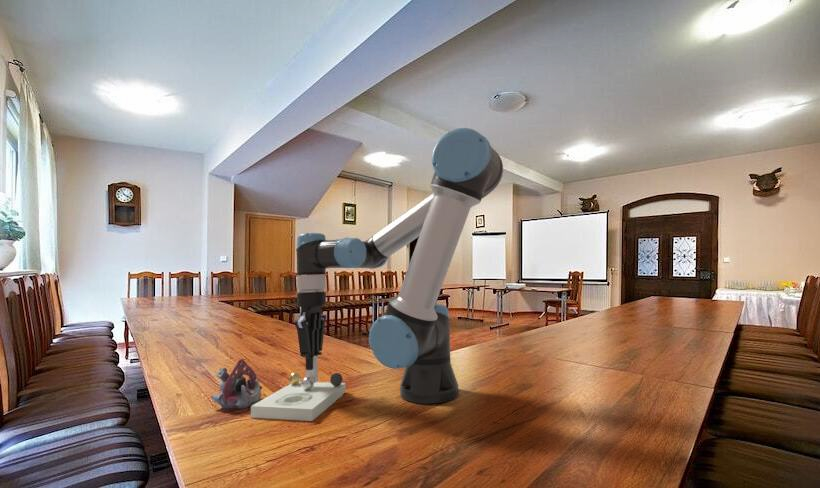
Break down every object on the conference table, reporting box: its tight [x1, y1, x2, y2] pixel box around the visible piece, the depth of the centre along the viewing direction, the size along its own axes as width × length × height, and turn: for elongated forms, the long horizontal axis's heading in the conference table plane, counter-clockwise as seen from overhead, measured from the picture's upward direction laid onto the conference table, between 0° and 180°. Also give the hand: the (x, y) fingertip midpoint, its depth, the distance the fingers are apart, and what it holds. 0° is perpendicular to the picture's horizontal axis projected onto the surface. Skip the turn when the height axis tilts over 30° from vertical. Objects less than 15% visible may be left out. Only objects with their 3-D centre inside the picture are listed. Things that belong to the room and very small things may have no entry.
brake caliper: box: [210, 358, 263, 410], centre depth 91 cm, size 11×11×12 cm
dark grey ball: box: [329, 372, 343, 386], centre depth 94 cm, size 3×3×3 cm
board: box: [250, 381, 347, 422], centre depth 88 cm, size 19×15×2 cm
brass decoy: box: [288, 371, 302, 385], centre depth 97 cm, size 3×3×3 cm
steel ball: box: [300, 376, 314, 390], centre depth 92 cm, size 3×3×3 cm
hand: (311, 381), depth 94 cm, fingers closed
